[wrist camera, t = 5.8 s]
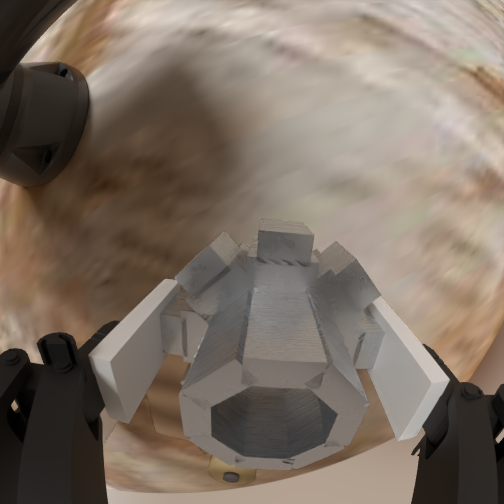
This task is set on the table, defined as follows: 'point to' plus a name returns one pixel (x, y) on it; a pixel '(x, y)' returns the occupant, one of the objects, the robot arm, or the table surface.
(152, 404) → the gear board
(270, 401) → the steel gear
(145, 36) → the table surface
